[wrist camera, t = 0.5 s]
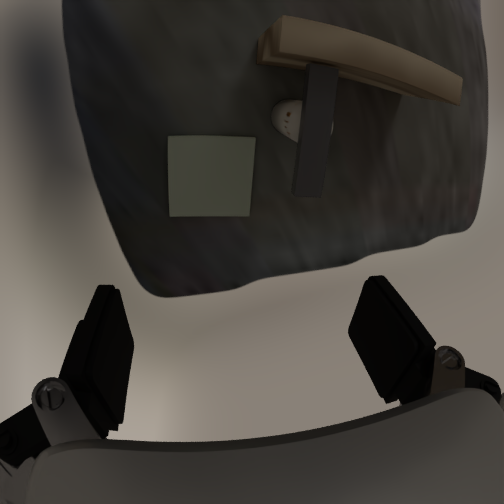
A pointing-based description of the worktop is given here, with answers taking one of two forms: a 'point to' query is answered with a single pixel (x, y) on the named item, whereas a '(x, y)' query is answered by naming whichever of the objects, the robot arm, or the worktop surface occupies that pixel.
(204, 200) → the mat
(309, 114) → the strap
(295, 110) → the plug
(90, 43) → the worktop surface
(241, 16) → the worktop surface
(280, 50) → the stand
